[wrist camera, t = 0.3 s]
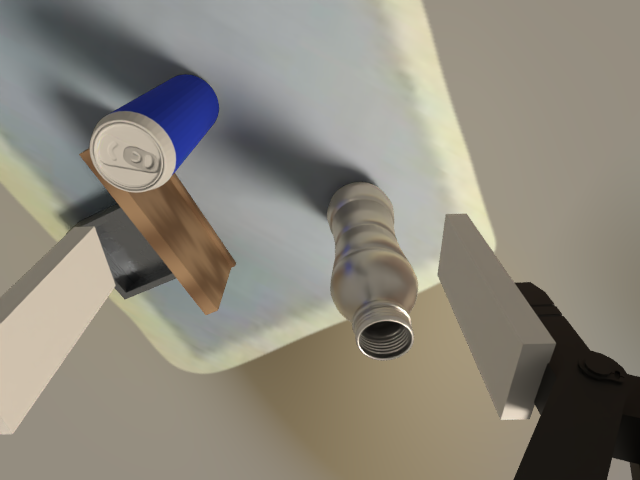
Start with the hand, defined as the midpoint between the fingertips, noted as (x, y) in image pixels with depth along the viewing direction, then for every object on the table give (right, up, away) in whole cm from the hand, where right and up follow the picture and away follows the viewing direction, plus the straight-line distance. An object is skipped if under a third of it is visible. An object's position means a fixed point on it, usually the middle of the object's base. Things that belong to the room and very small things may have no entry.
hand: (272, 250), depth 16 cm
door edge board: (-13, +4, +27) cm, 30 cm away
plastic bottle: (+6, +4, +28) cm, 29 cm away
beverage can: (-10, +13, +22) cm, 28 cm away
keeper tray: (-18, 0, +30) cm, 35 cm away
